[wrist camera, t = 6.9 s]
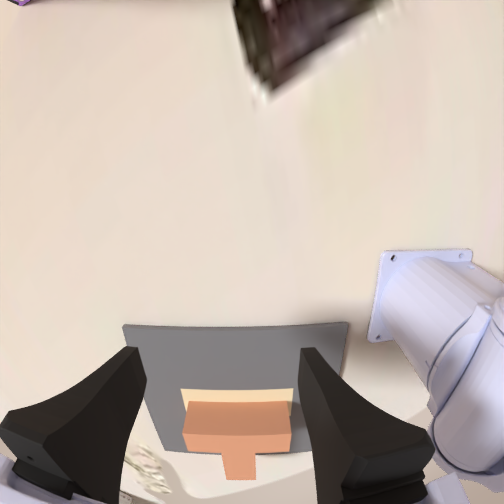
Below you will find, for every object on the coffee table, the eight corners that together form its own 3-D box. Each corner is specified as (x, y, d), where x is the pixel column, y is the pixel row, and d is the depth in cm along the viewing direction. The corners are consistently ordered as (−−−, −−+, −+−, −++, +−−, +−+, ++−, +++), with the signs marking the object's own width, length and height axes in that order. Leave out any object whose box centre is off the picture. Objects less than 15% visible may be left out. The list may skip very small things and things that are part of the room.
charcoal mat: (346, 321, 22) (348, 325, 22) (319, 446, 28) (320, 450, 28) (124, 324, 22) (121, 327, 22) (165, 447, 28) (164, 450, 28)
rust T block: (286, 400, 25) (291, 433, 21) (282, 450, 27) (284, 478, 24) (188, 400, 24) (182, 433, 21) (201, 450, 27) (198, 478, 24)
